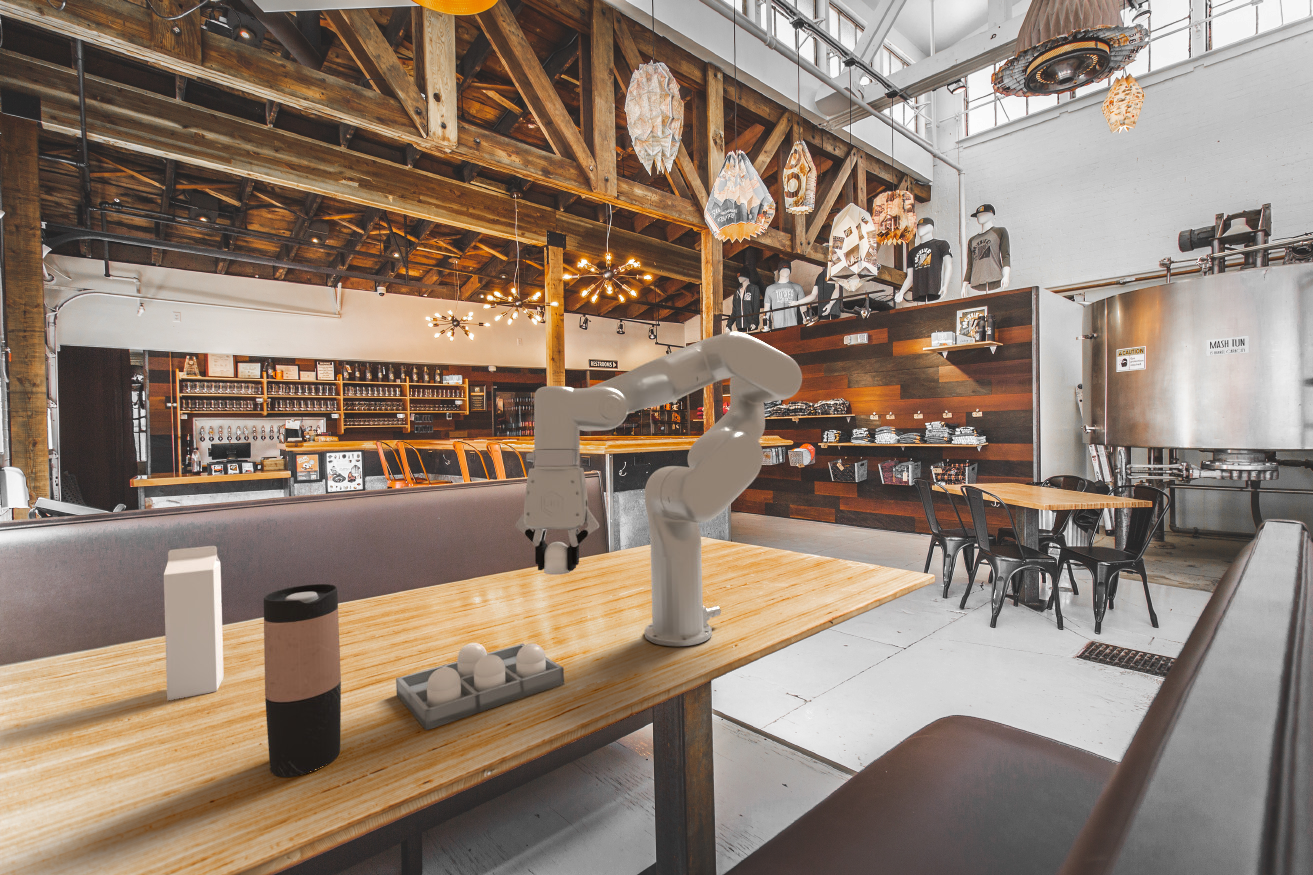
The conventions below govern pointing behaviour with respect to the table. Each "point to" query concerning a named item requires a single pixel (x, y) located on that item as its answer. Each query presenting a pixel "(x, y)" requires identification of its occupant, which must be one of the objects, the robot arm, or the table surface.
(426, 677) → the carton
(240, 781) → the table surface
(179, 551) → the milk
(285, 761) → the travel mug
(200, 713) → the table surface
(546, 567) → the egg
